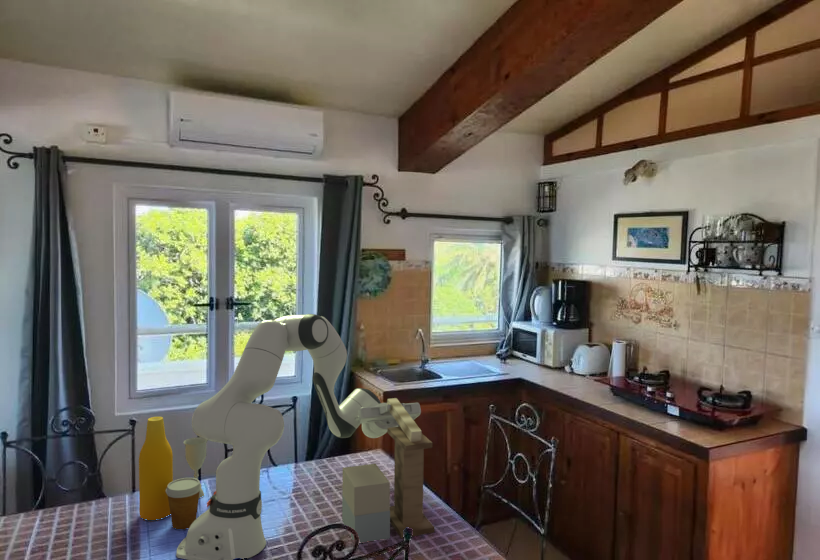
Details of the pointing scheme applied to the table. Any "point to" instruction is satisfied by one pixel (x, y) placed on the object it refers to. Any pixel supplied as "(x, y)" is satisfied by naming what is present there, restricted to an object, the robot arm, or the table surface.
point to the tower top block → (366, 489)
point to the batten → (404, 420)
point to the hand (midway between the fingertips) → (396, 406)
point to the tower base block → (367, 524)
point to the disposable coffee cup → (183, 501)
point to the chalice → (195, 455)
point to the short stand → (409, 484)
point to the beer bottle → (155, 471)
